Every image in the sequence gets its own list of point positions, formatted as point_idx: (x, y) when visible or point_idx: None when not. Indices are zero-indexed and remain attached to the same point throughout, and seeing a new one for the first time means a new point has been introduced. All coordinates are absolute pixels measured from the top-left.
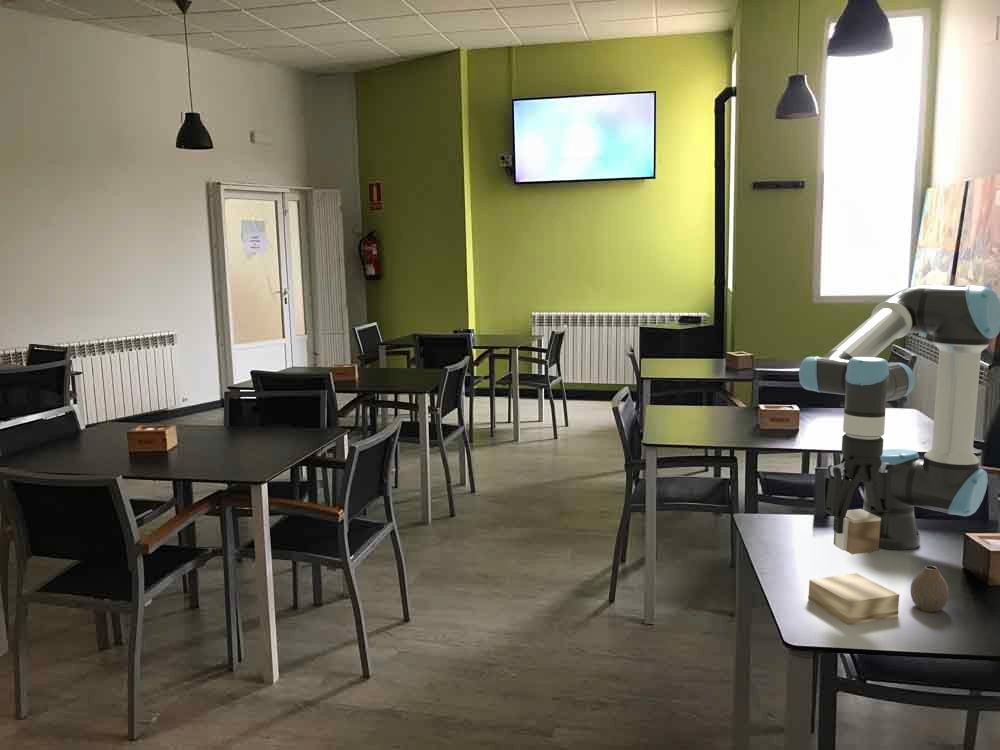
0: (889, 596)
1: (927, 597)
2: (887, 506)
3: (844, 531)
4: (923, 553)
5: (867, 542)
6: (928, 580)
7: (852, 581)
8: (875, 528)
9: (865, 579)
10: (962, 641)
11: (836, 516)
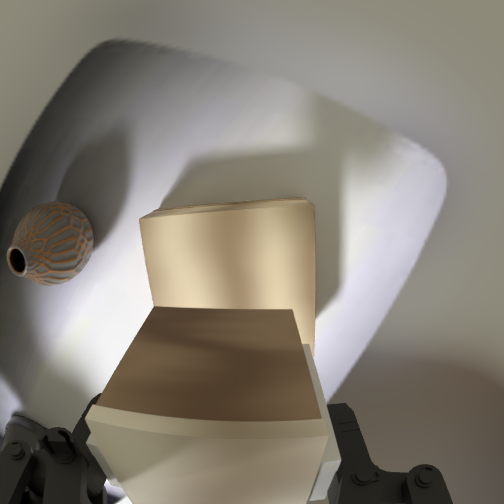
0: (171, 215)
1: (73, 213)
2: (14, 466)
3: (325, 405)
4: (11, 401)
5: (207, 334)
6: (45, 233)
7: None
8: (143, 378)
9: None
10: (114, 76)
11: (391, 473)
